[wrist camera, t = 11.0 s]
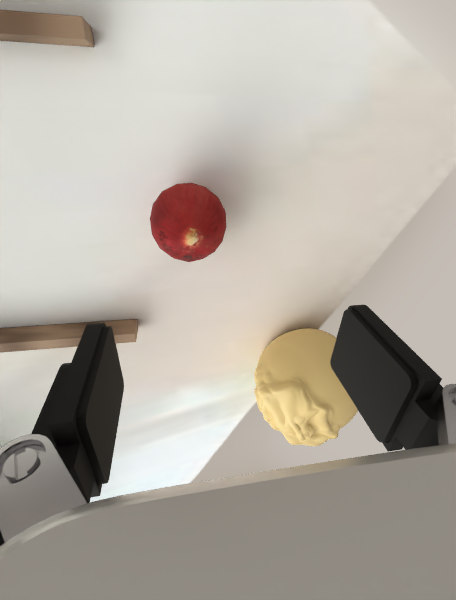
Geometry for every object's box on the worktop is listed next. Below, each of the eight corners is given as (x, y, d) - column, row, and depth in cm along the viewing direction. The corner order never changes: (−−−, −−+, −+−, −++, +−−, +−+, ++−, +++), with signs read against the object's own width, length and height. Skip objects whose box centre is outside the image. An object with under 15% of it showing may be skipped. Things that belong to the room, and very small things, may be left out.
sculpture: (230, 343, 35) (250, 423, 26) (324, 300, 34) (380, 367, 25) (263, 398, 42) (289, 477, 33) (344, 362, 40) (394, 434, 31)
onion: (208, 248, 29) (220, 289, 22) (146, 233, 27) (139, 272, 20) (227, 187, 26) (247, 212, 19) (160, 165, 24) (157, 185, 17)
